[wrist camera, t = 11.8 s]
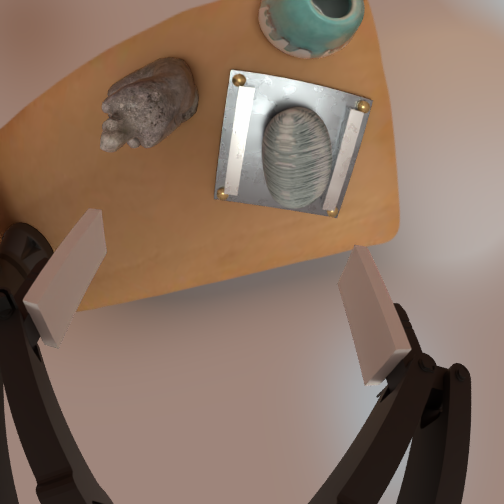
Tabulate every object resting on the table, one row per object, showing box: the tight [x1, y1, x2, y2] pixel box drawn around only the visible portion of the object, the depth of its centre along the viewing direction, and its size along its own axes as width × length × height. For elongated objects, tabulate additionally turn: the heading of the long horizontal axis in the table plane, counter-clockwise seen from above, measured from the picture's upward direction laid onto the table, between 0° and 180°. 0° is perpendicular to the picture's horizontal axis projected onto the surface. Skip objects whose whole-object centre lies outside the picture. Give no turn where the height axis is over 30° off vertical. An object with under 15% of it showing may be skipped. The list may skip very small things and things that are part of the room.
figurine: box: [100, 58, 199, 152], centre depth 30 cm, size 13×12×18 cm
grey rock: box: [262, 107, 332, 209], centre depth 38 cm, size 14×10×10 cm
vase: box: [258, 0, 364, 59], centre depth 24 cm, size 12×12×18 cm
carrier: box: [214, 70, 373, 218], centre depth 41 cm, size 20×20×3 cm
